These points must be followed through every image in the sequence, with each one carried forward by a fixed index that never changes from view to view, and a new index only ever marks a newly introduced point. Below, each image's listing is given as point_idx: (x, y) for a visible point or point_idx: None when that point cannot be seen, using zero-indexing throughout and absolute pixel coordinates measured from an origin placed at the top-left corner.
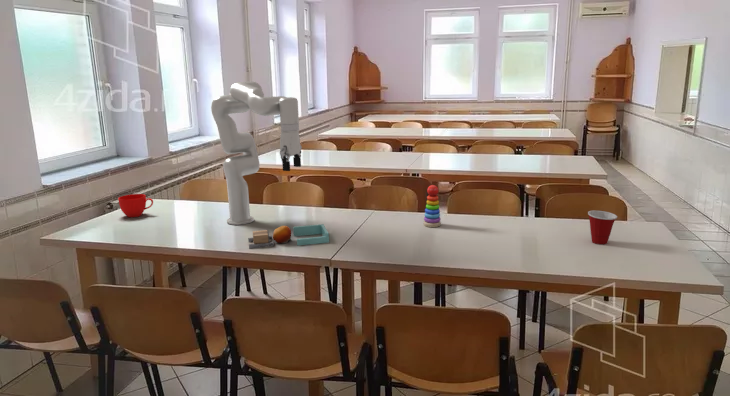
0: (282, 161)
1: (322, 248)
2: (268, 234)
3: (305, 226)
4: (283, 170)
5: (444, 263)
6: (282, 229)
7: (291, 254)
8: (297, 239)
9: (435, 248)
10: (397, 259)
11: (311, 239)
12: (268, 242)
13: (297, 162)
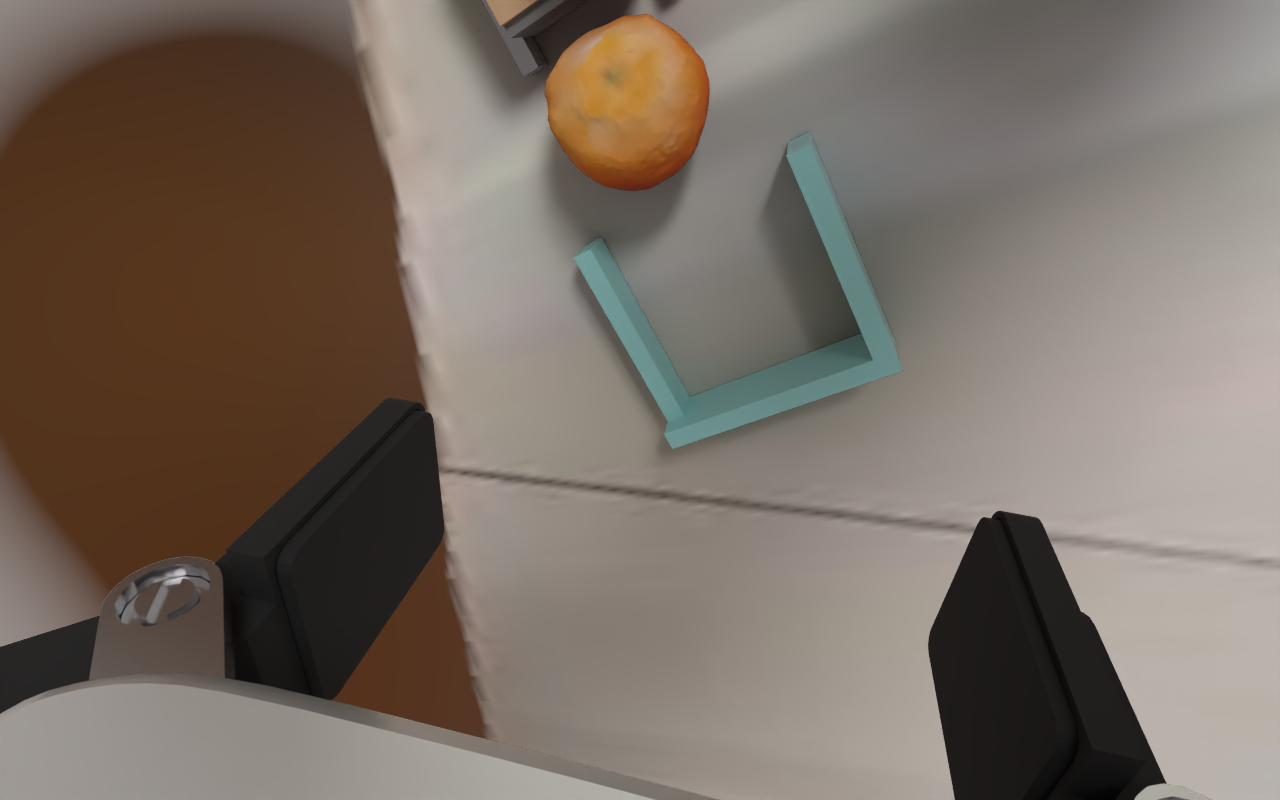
0: (237, 549)
1: (572, 403)
2: (532, 13)
3: (826, 250)
4: (395, 409)
5: None
6: (568, 146)
7: (429, 263)
8: (579, 258)
9: None
10: (523, 686)
11: (624, 339)
12: None
13: (963, 688)
